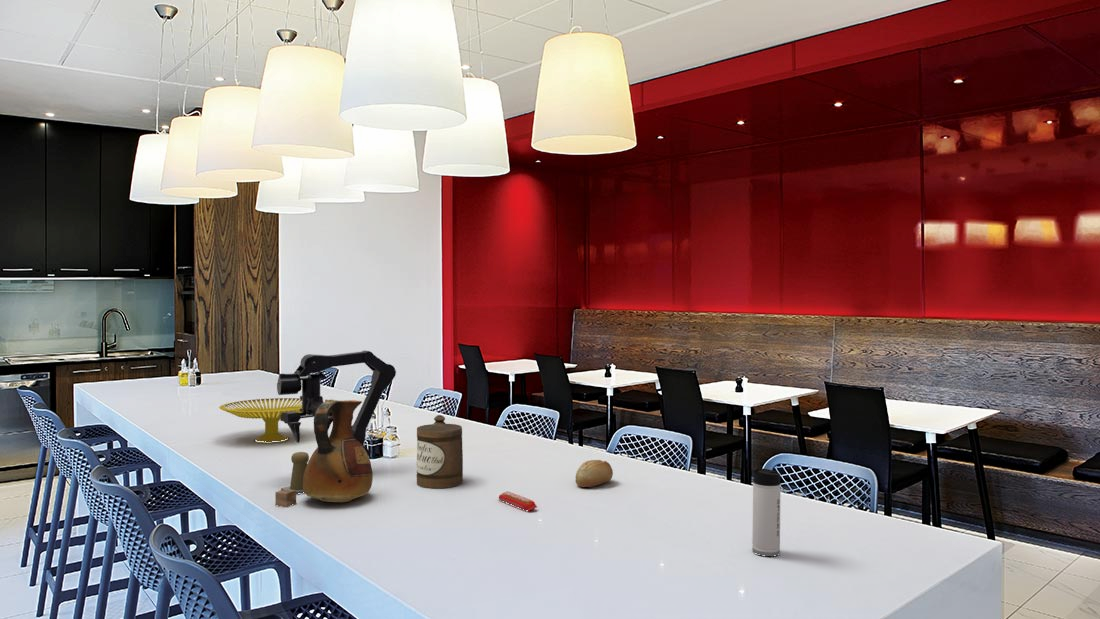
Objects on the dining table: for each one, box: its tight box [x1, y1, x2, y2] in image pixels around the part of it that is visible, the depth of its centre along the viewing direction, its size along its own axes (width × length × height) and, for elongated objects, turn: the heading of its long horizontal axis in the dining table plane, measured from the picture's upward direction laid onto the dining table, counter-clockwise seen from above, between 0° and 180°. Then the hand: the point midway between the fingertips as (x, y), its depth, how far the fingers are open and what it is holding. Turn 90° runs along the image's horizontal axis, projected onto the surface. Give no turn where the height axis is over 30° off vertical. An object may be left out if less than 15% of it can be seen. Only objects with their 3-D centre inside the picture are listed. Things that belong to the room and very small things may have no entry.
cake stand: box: [218, 397, 302, 442], centre depth 306 cm, size 40×40×15 cm
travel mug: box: [751, 467, 782, 556], centre depth 174 cm, size 6×7×20 cm
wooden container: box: [416, 414, 464, 489], centre depth 237 cm, size 15×15×22 cm
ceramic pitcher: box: [303, 398, 374, 503], centre depth 217 cm, size 20×20×30 cm
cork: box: [289, 451, 310, 490], centre depth 227 cm, size 6×6×11 cm
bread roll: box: [575, 459, 614, 488], centre depth 236 cm, size 10×15×8 cm, turn 138°
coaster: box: [280, 485, 304, 495], centre depth 227 cm, size 8×8×1 cm
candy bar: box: [498, 491, 538, 512], centre depth 212 cm, size 16×4×3 cm, turn 38°
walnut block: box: [274, 489, 297, 508], centre depth 211 cm, size 4×4×4 cm
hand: (311, 440), depth 239 cm, fingers open, 9 cm apart
